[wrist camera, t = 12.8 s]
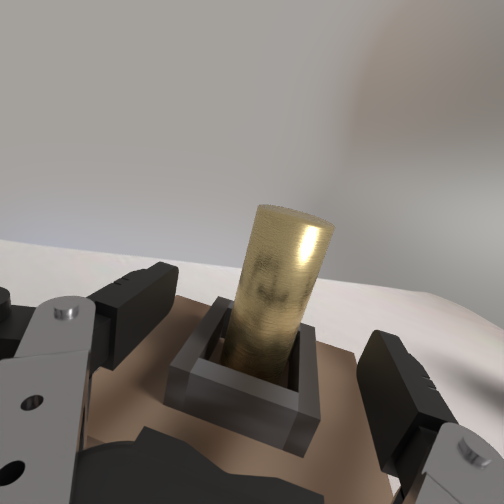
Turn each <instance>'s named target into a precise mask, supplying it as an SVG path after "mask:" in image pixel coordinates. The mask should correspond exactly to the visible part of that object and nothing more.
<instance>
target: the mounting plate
mask: <svg viewBox="0 0 504 504" xmlns="http://www.w3.org/2000/svg"><path fill="white" fill-rule="evenodd" d="M233 304H234V301H232V300H229V299H226V298H222V297H219V296H218V297H217V299H216V300H215V302H214V303H213V305H212V306H209V305H206V304H203V303H200V302H197V301H194V300H191V299H188V298H185V297H182V296H179V295H176V296H175V299H174V303H173V306H172V308H171V310H170V312H169V313H168V315H167V316H166V317H165V318H164V319H163V320H162V321H161V322H160V323H159V324H158V325H157V326H156V327H155V328H154V329H153V330H152V331H151V332H150V333H149V334H148V335H147V336H146V337H145V339H144V340H143V341H142V342H141V343H140V344H139V345H138V346H137V347H136V348H135V349H134V350H133V351H132V352H131V353H130V354H129V355H128V356H127V357H126V358H125V359H124V360H123V361H122V362H121V363H120V364H119V365H118V366H117V367H116V368H115V370H114V371H111V370H108V369H106V368H103V367H100V368H99V369H98V370H97V371H96V372H95V373H94V374H93V378H92V389H91V399H90V409H89V419H88V430H87V441H86V449H87V448H90V447H93V446H96V445H100V444H103V443H109V442H115V441H135V440H136V438H137V436H138V435H139V433H140V432H141V430H142V429H143V427H144V426H146V427H149V428H151V429H154V430H156V431H159V432H162V433H164V434H167V435H169V436H172V437H175V438H177V439H180V440H182V441H185V442H187V443H188V444H189V445H191V446H192V447H193V448H194V449H196V450H197V451H198V452H200V453H201V454H202V455H204V456H205V457H206V458H207V459H209V460H210V461H211V462H213V463H214V464H215V465H217V466H218V467H219V468H220V469H222V470H223V471H225V472H227V473H230V474H240V475H253V476H265V477H277V478H280V479H283V480H285V481H288V482H290V483H293V484H295V485H298V486H301V487H303V488H306V489H308V490H311V491H313V492H316V493H319V494H321V495H324V504H391V502H392V499H393V494H392V490H391V486H390V483H389V479H388V475H387V474H386V473H384V472H381V470H380V466H379V462H378V458H377V454H376V451H375V447H374V443H373V439H372V435H371V431H370V428H369V424H368V420H367V416H366V412H365V409H364V405H363V401H362V397H361V393H360V389H359V386H358V382H357V377H356V370H357V363H356V359H355V356H354V353H352V352H349V351H346V350H343V349H340V348H337V347H334V346H331V345H328V344H325V343H322V342H319V341H316V337H315V327H312V326H309V325H306V324H303V323H300V326H299V329H298V331H297V334H296V337H295V340H294V343H293V345H292V348H291V351H290V354H289V356H288V359H287V362H286V365H285V367H284V370H283V373H282V376H281V379H280V381H279V384H278V385H275V384H272V383H269V382H266V381H264V380H261V379H258V378H255V377H252V376H249V375H247V374H244V373H241V372H238V371H235V370H232V369H230V368H227V367H224V366H221V365H218V364H219V360H220V356H221V352H222V348H223V344H224V340H225V336H226V332H227V328H228V324H229V320H230V316H231V312H232V308H233Z"/></svg>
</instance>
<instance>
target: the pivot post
mask: <svg viewBox="0 0 504 504" xmlns="http://www.w3.org/2000/svg"><path fill="white" fill-rule="evenodd" d="M334 228H335V226H334V225H333V224H331V223H329V222H327V221H325V220H323V219H321V218H318V217H315V216H312V215H310V214H307V213H303V212H300V211H297V210H293V209H289V208H284V207H279V206H273V205H259V206H258V208H257V212H256V216H255V220H254V224H253V228H252V232H251V236H250V240H249V244H248V248H247V252H246V256H245V260H244V264H243V268H242V272H241V276H240V280H239V284H238V288H237V292H236V296H235V300H234V304H233V308H232V312H231V316H230V320H229V324H228V328H227V332H226V336H225V340H224V344H223V348H222V352H221V356H220V360H219V364H218V365H221V366H224V367H227V368H230V369H232V370H235V371H238V372H241V373H244V374H247V375H249V376H252V377H255V378H258V379H261V380H264V381H266V382H269V383H272V384H275V385H278V384H279V381H280V379H281V376H282V373H283V370H284V367H285V365H286V362H287V359H288V356H289V354H290V351H291V348H292V345H293V343H294V340H295V337H296V334H297V331H298V329H299V326H300V323H301V320H302V318H303V315H304V312H305V309H306V306H307V304H308V301H309V298H310V295H311V293H312V290H313V287H314V284H315V282H316V279H317V276H318V273H319V270H320V268H321V265H322V262H323V259H324V257H325V254H326V251H327V248H328V245H329V243H330V240H331V237H332V234H333V232H334Z"/></svg>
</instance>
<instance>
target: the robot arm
mask: <svg viewBox="0 0 504 504" xmlns="http://www.w3.org/2000/svg"><path fill="white" fill-rule="evenodd" d="M178 274H179V269H178V267H176V266H173V265H170V264H167V263H164V262H158V263H156V264H155V265H153V266H151V267H150V268H148V269H141V270H137V271H132V272H130V273H128V274H126V275H125V276H123V277H122V278H119V279H118V280H116V281H114V283H111V284H109V285H107V286H105V287H103V288H102V289H100V290H98V291H96V292H95V293H93V294H91V295H89V296H88V297H86V298H85V297H80V296H64V297H58V298H54V299H50V300H48V301H46V302H44V303H42V304H41V305H39V306H38V307H27V306H18V305H11V300H10V293H9V291H8V290H7V289H5V288H2V287H0V504H324V495H321V494H319V493H316V492H313V491H311V490H308V489H306V488H303V487H301V486H298V485H295V484H293V483H290V482H288V481H285V480H283V479H280V478H277V477H265V476H253V475H240V474H230V473H227V472H225V471H223V470H222V469H220V468H219V467H218V466H217V465H215V464H214V463H213V462H211V461H210V460H209V459H207V458H206V457H205V456H204V455H202V454H201V453H200V452H198V451H197V450H196V449H194V448H193V447H192V446H191V445H189V444H188V443H187V442H185V441H182V440H180V439H177V438H175V437H172V436H169V435H167V434H164V433H162V432H159V431H156V430H154V429H151V428H149V427H146V426H144V427H143V429H142V430H141V432H140V433H139V435H138V436H137V438H136V440H135V441H115V442H109V443H103V444H100V445H96V446H93V447H90V448H87V449H86V441H87V430H88V419H89V409H90V399H91V389H92V378H93V372H95V371H96V370H97V369H98V368H99V367H103V368H106V369H108V370H111V371H114V370H115V368H116V367H117V366H118V365H119V364H120V363H121V362H122V361H123V360H124V359H125V358H126V357H127V356H128V355H129V354H130V353H131V352H132V351H133V350H134V349H135V348H136V347H137V346H138V345H139V344H140V343H141V342H142V341H143V340H144V339H145V337H146V336H147V335H148V334H149V333H150V332H151V331H152V330H153V329H154V328H155V327H156V326H157V325H158V324H159V323H160V322H161V321H162V320H163V319H164V318H165V317H166V316H167V315H168V313H169V312H170V310H171V308H172V306H173V303H174V299H175V293H176V287H177V280H178ZM356 377H357V382H358V386H359V389H360V393H361V397H362V401H363V405H364V409H365V412H366V416H367V420H368V424H369V428H370V431H371V435H372V439H373V443H374V447H375V451H376V454H377V458H378V462H379V466H380V470H381V472H384V473H386V474H389V475H392V476H394V477H397V478H399V481H400V484H401V486H400V488H399V489H398V490H397V492H396V493H395V495H394V497H393V499H392V502H391V504H504V459H503V458H502V457H501V455H500V454H499V453H498V452H497V451H496V450H495V449H494V448H493V447H492V446H491V445H490V444H489V443H487V442H486V441H485V440H484V439H483V438H481V437H480V436H479V435H477V434H476V433H474V432H473V431H471V430H469V429H467V428H465V427H463V426H461V425H459V424H458V422H457V420H456V419H455V417H454V416H453V414H452V412H451V411H450V409H449V408H448V406H447V404H446V403H445V401H444V400H443V398H442V396H441V395H440V393H439V391H437V390H436V387H435V385H434V383H433V382H432V380H430V377H429V375H428V374H427V372H426V371H425V369H424V367H423V366H422V365H421V364H420V363H419V362H418V361H417V360H416V359H415V358H414V357H413V356H412V355H411V354H409V353H408V352H407V350H406V348H405V347H404V345H403V343H402V342H401V340H400V338H399V337H398V336H396V335H393V334H390V333H386V332H383V331H380V330H374V331H373V333H372V334H371V336H370V338H369V340H368V342H367V345H366V347H365V349H364V351H363V353H362V355H361V357H360V359H359V362H358V365H357V370H356Z"/></svg>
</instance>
